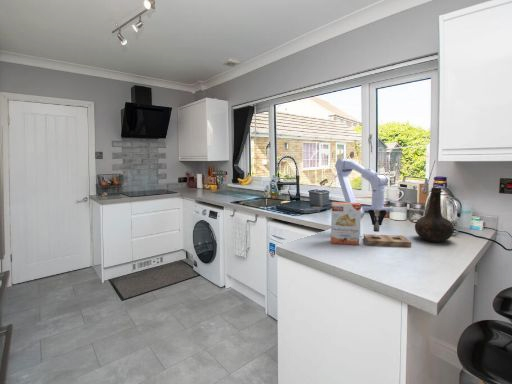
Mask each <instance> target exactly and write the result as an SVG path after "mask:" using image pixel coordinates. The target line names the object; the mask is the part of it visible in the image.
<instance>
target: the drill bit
mask: <svg viewBox="0 0 512 384" xmlns="http://www.w3.org/2000/svg"><path fill="white" fill-rule="evenodd" d="M374 222H375V224H374V225H373V232H376V233H379V232H380V228H381V227H380V226H381V225H380V221H379V215H378V214H377V215H376V214H375V219H374Z"/></svg>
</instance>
